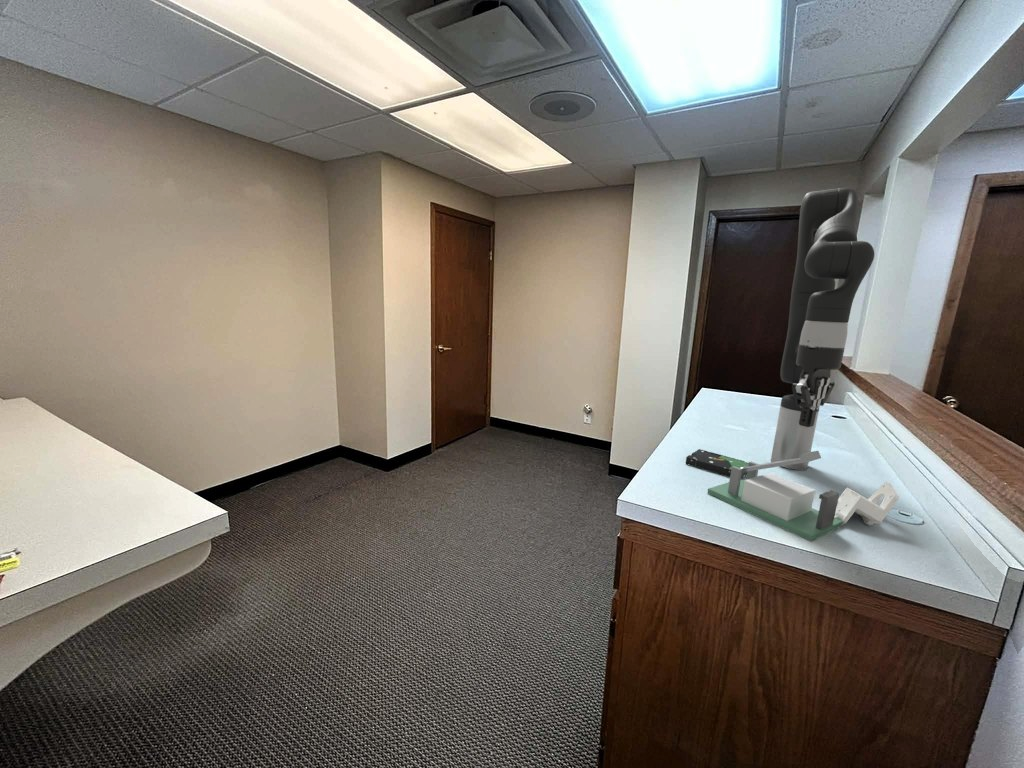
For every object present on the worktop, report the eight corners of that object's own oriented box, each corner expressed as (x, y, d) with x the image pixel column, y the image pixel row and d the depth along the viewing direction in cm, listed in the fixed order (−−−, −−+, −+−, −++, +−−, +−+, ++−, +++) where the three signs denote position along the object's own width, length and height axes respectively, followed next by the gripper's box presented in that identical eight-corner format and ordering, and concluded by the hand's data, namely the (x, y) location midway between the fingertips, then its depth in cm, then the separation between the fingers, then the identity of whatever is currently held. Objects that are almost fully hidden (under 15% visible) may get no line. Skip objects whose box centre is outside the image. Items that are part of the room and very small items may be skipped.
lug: (824, 521, 88) (831, 489, 86) (832, 524, 86) (839, 492, 85) (812, 526, 85) (819, 494, 84) (820, 530, 84) (827, 497, 82)
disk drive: (684, 466, 120) (740, 482, 110) (685, 456, 119) (742, 472, 109) (697, 457, 127) (751, 471, 117) (698, 448, 127) (752, 462, 117)
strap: (749, 470, 101) (746, 463, 102) (822, 458, 87) (818, 450, 88) (736, 474, 99) (733, 466, 99) (809, 462, 85) (805, 454, 85)
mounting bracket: (865, 541, 87) (904, 504, 82) (833, 521, 89) (869, 484, 85) (856, 517, 97) (890, 483, 92) (827, 500, 99) (859, 466, 95)
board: (738, 483, 108) (743, 455, 106) (842, 525, 88) (849, 492, 87) (707, 493, 101) (711, 463, 100) (811, 541, 82) (819, 505, 80)
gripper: (817, 342, 90) (802, 418, 94) (784, 342, 84) (770, 424, 87) (858, 346, 84) (841, 427, 87) (826, 346, 77) (809, 435, 81)
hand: (805, 425), depth 87 cm, fingers closed
